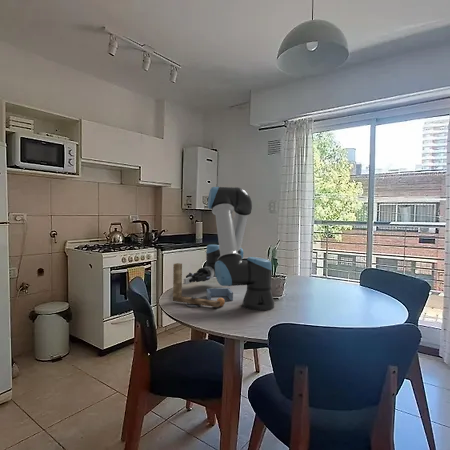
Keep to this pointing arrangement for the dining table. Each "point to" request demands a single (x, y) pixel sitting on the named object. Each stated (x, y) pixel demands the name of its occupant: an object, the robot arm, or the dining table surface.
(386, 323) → the dining table surface
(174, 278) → the lever
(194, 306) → the pivot base
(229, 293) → the blue-gray u-shaped bracket
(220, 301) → the ball
